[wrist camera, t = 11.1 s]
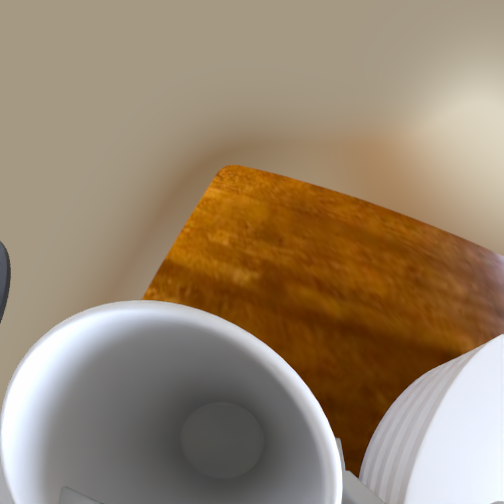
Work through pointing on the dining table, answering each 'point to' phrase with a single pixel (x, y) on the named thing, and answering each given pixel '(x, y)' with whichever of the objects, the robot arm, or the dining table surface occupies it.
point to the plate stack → (443, 435)
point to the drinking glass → (163, 414)
